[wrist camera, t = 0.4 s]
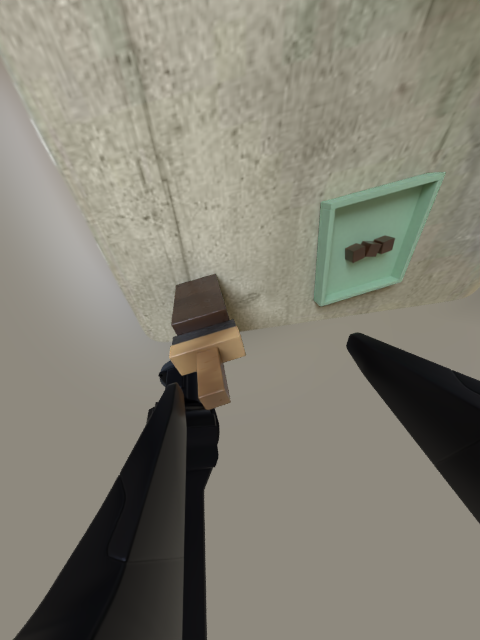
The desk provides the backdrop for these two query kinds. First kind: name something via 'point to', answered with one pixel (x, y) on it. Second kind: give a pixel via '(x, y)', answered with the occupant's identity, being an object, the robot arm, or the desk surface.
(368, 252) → the crumb
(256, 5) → the desk surface
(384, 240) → the crumb
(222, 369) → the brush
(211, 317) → the dark brown block
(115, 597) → the robot arm
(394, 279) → the tray
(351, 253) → the crumb
